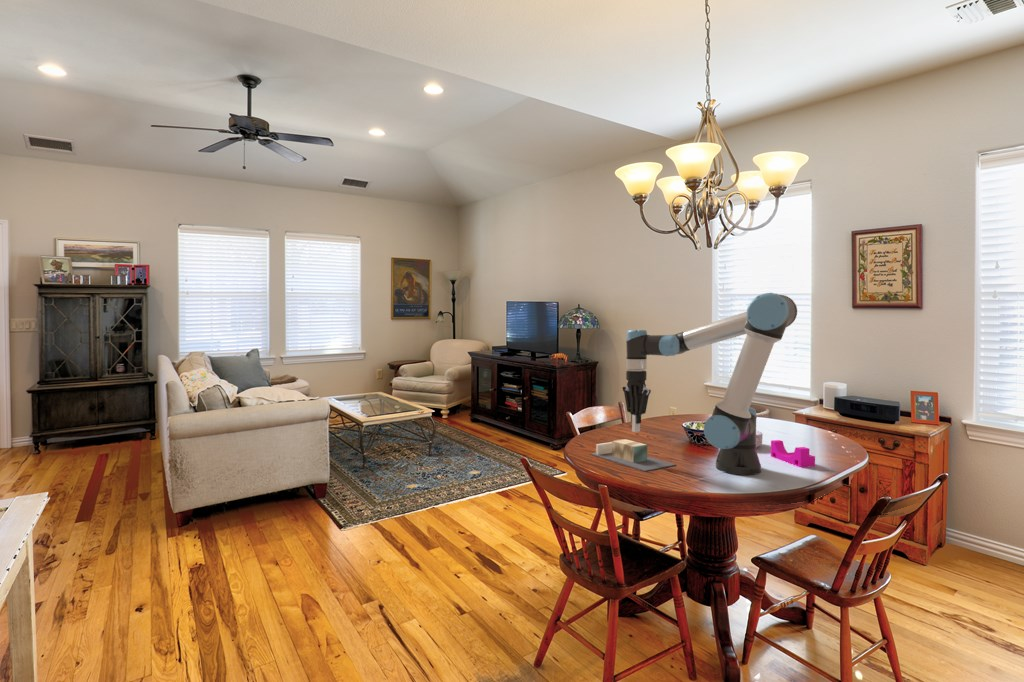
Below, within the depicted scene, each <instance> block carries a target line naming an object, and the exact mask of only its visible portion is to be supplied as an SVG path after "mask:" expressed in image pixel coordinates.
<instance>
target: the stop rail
mask: <svg viewBox="0 0 1024 682" xmlns="http://www.w3.org/2000/svg"><path fill="white" fill-rule="evenodd" d="M595 453H596V454H597V455H600V454H606V453H612V441H610V442H603V443H596V444H595Z"/></svg>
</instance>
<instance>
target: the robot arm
mask: <svg viewBox="0 0 1024 682" xmlns="http://www.w3.org/2000/svg"><path fill="white" fill-rule="evenodd" d="M797 315H798V307H797V304H796V302H795V301H794V300H793V299H792V298H790V296H787V295H784V294H779V293H774V292H765V293H761V294H759V295H757V296H756V297H753V299H752V300H751V301H750V302H749V303H748V306H747V309H746V311H744V312H741V313H738V314H735V315H732V316H729V317H726V318H723V319H719V320H716V321H712V322H710V323H706V324H703V325H700V326H697V327H694V328H691V329H688V330H683V331H681V332H678V333H675V334H656V335H655V334H653V335H652V334H648V332H647V330H645V329H629V330H627V332H626V341H625V342H626V362H625V364H626V365H625V369H626V372H625V375H626V377H625V379H626V380H627V383H626V386H622V391H623V394H624V399H625V406H626V411H627V413H630V422H631V432H632V433H640V432H641V424H642V415H643V414H646V412H647V407H648V401H649V396H650V394H651V392H652V390H651V389H649V388H647V386H646V385H647V384H646V381H647V360H648V359H647V357H648V356H660V357H661V356H664V357H672V356H673V357H675V356H677V355H680V354H684V353H686V352H688V351H691V350H695V349H699V348H703V347H705V346H708V345H709V346H710V345H713V344H715V343H720V342H723V341H727V340H729V339H734V338H737V337H740V336H744V335H746V336H745V338H744V341H743V344H742V348H741V349H740V352H739V355H738V358H737V361H736V363H735V366H734V369H733V371H732V374H731V377H730V380H729V382H728V385H727V387H726V390H725V393H724V396H723V398H722V400H721V401H719V402H718V401H717V402H716V404H715V406H714V408H713V411H712V414H711V416H710V417H708V419H706V421H705V422H704V424H703V434H704V436H705V438H706V440H707V442H708V443H709V444H710V445H712V446H713V448H717V449H719V452H718V453H717V457H716V460H715V469H717V470H719V471H720V472H723V473H724V472H725V473H728V474H732V475H742V476H743V475H745V476H749V475H750V476H751V475H758V474H760V473H761V472H762V464H761V463H760V462H761V461H760V459H759V455H758V452H757V448H756V431H757V410H756V409H755V408H754V407H751V404H752V401H753V399H754V398H755V397H754V396H755V394H756V393H757V389H758V387H759V384H760V381H761V378H762V376H763V374H764V370H765V368H766V366H767V363H768V361H769V358H770V355H771V353H772V349H773V347H774V345H775V343H777V342H780V341H781V340H782V339H783V336H784V333H785V330H786V328H788V327H789V326H791V325H792V324H793V323H794V322H795V320H796V319H797Z"/></svg>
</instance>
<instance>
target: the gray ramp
mask: <svg viewBox="0 0 1024 682" xmlns="http://www.w3.org/2000/svg"><path fill="white" fill-rule="evenodd" d="M589 455H591V456H595V457H597V458H601V459H604V460H606V461H609V462H613V463H615V464H619V465H622V466H626V467H629V468H632V469H636V470H638V471H641V472H650V471H654V470H655V471H656V470H660V469H666V468H670V467H675V466H677V464H676V463H672V462H668V461H666V460H661V459H658V458H654V457H651V456H648V455H647V460H646V461H640V462H635V463H633V462H630V461H627V460H623V459H620V458H617V457H614V456H612V453H606V454H600V455H597V454H596V452H591V453H589Z"/></svg>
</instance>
